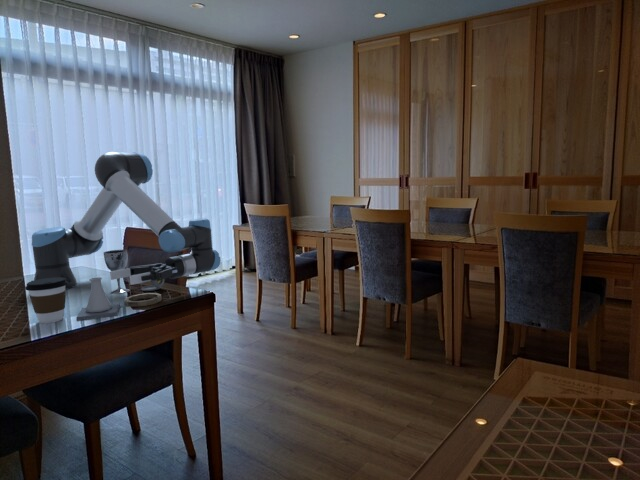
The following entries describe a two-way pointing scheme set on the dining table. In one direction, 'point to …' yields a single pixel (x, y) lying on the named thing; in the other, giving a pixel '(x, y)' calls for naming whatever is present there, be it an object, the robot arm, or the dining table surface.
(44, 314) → the coffee cup
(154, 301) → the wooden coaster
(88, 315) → the rubber mat
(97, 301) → the flask
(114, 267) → the wine glass
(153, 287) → the pocket watch
